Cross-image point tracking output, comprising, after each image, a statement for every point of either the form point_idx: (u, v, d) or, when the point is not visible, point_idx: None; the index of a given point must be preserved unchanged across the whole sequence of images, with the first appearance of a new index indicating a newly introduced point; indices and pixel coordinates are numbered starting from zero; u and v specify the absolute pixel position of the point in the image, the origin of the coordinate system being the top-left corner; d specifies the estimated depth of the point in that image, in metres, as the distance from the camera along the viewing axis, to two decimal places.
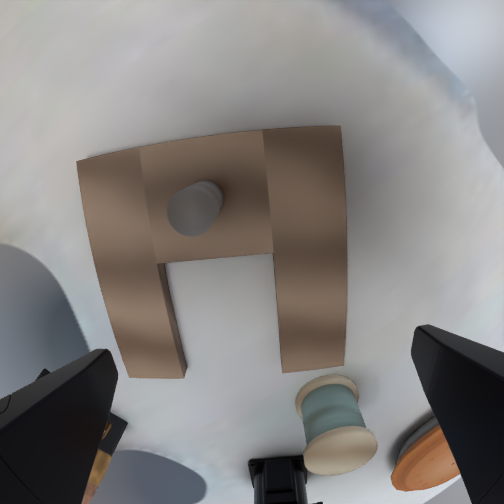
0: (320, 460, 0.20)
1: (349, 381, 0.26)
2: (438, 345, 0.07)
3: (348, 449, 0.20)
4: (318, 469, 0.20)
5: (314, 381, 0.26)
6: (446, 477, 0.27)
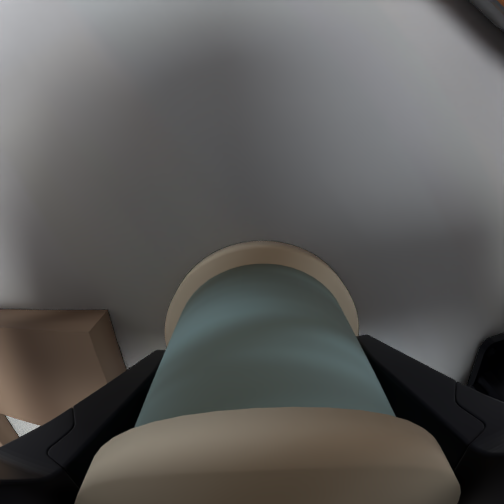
0: None
1: (181, 284, 0.09)
2: (368, 359, 0.07)
3: None
4: None
5: None
6: None
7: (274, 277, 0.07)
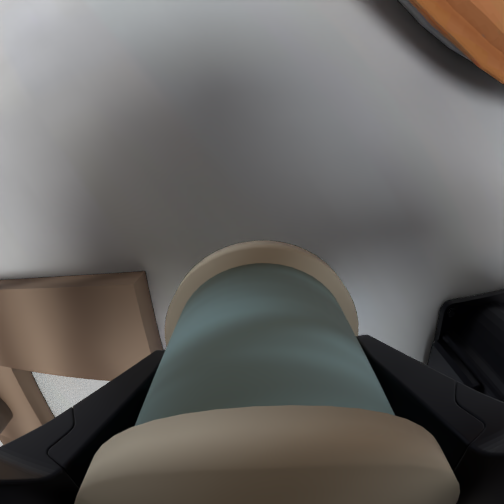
0: None
1: (181, 284, 0.09)
2: (368, 359, 0.07)
3: None
4: None
5: None
6: None
7: (273, 276, 0.08)
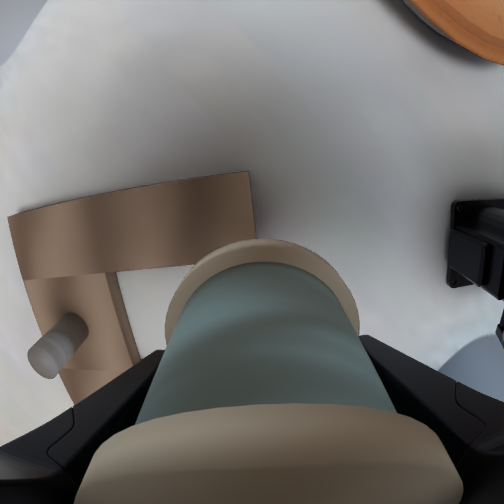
0: None
1: (181, 282, 0.09)
2: None
3: None
4: None
5: None
6: None
7: (275, 274, 0.07)
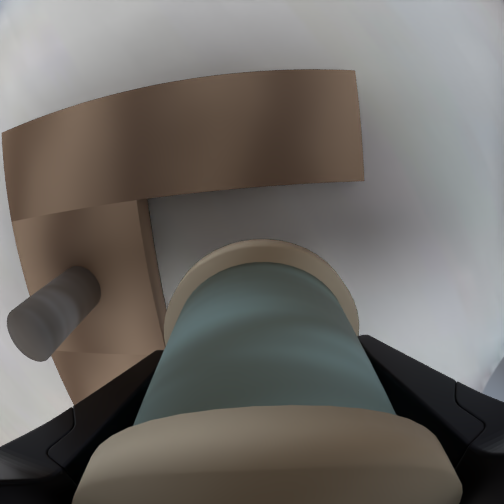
0: None
1: (180, 282, 0.09)
2: None
3: None
4: None
5: None
6: None
7: (274, 275, 0.07)
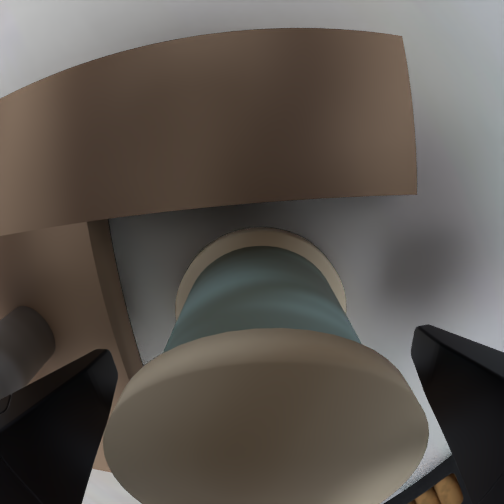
0: None
1: (190, 265, 0.10)
2: (438, 345, 0.07)
3: (217, 474, 0.04)
4: None
5: None
6: None
7: (271, 255, 0.09)
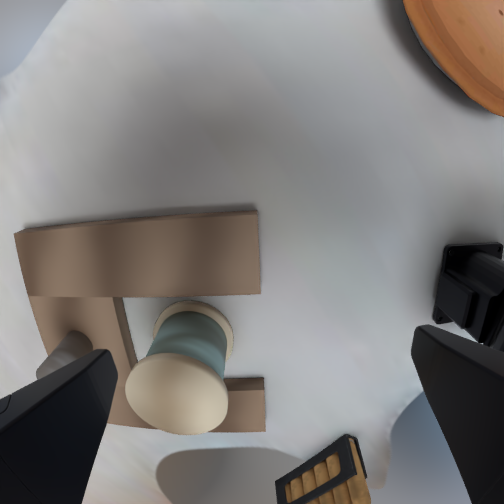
0: (181, 422, 0.16)
1: (159, 316, 0.22)
2: (438, 345, 0.07)
3: (159, 395, 0.16)
4: (205, 424, 0.16)
5: None
6: None
7: (191, 318, 0.20)
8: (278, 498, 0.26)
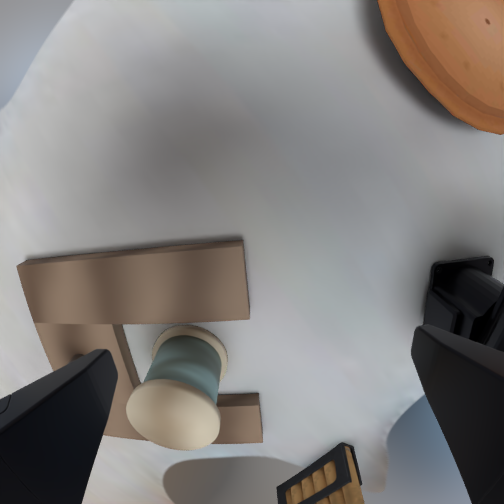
0: (179, 439, 0.17)
1: (157, 339, 0.23)
2: (438, 345, 0.07)
3: (157, 416, 0.17)
4: (200, 440, 0.17)
5: None
6: None
7: (186, 342, 0.21)
8: (279, 503, 0.27)
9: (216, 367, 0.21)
